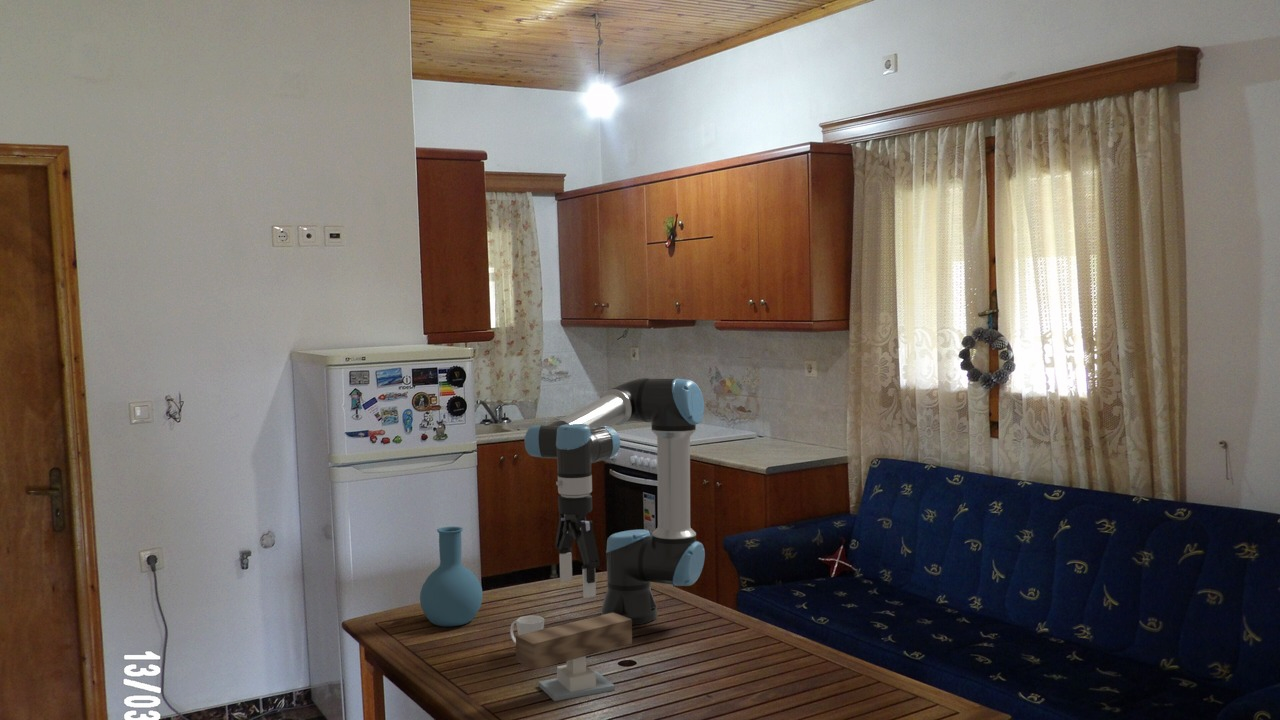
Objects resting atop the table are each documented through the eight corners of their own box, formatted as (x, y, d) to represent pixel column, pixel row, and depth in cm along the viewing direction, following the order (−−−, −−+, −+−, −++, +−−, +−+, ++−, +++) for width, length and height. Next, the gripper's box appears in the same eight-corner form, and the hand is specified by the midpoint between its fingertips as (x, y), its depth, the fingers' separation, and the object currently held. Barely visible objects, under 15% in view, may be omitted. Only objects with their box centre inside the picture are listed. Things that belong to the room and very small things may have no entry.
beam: (613, 636, 233) (613, 612, 233) (632, 643, 227) (631, 619, 227) (516, 661, 217) (515, 635, 217) (533, 670, 211) (533, 643, 211)
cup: (531, 659, 242) (530, 625, 241) (501, 651, 248) (500, 618, 247) (551, 650, 247) (550, 618, 247) (521, 643, 253) (520, 611, 253)
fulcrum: (597, 675, 230) (596, 640, 230) (614, 689, 221) (614, 653, 221) (538, 685, 224) (538, 650, 224) (554, 701, 215) (553, 664, 215)
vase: (495, 617, 275) (493, 526, 274) (453, 634, 261) (451, 538, 260) (450, 608, 284) (448, 520, 283) (407, 624, 270) (405, 531, 269)
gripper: (539, 487, 234) (542, 577, 235) (580, 506, 211) (583, 606, 212) (569, 483, 237) (572, 573, 238) (613, 502, 214) (616, 600, 216)
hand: (577, 589), depth 225 cm, fingers open, 13 cm apart
